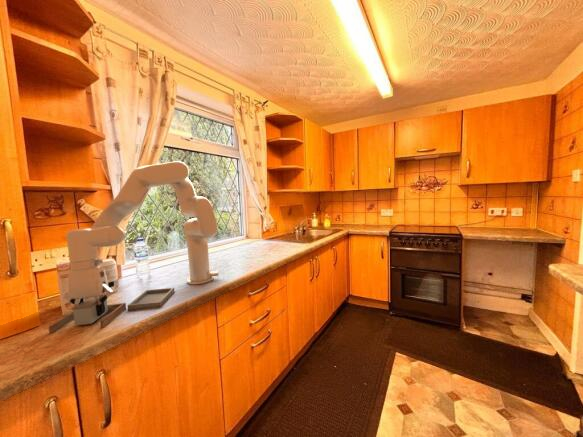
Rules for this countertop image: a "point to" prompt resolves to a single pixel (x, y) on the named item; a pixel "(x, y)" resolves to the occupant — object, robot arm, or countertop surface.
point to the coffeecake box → (64, 284)
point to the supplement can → (111, 274)
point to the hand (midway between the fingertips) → (92, 314)
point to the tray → (151, 299)
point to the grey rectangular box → (87, 312)
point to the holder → (116, 311)
